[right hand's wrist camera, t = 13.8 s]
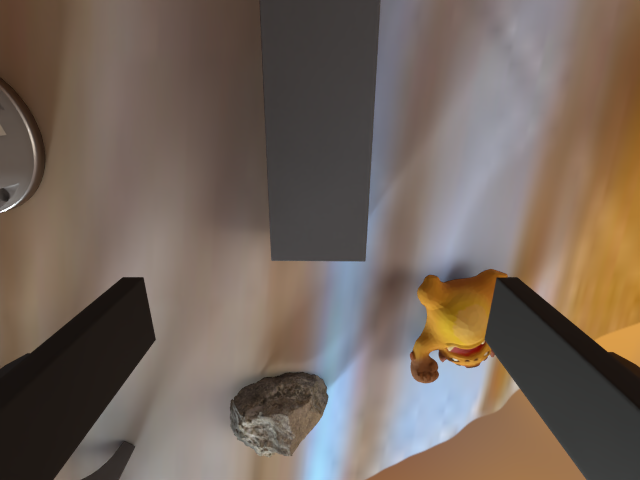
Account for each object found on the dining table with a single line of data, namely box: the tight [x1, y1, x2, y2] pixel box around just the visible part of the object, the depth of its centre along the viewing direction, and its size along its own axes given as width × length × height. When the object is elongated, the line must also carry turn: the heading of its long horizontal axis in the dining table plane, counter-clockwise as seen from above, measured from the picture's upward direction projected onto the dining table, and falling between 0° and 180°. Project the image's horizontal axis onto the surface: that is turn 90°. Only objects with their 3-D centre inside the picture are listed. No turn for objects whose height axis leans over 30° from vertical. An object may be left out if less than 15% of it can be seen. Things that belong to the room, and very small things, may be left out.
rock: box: [230, 372, 329, 457], centre depth 43 cm, size 13×9×6 cm, turn 129°
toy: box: [410, 269, 508, 383], centre depth 39 cm, size 11×6×15 cm
